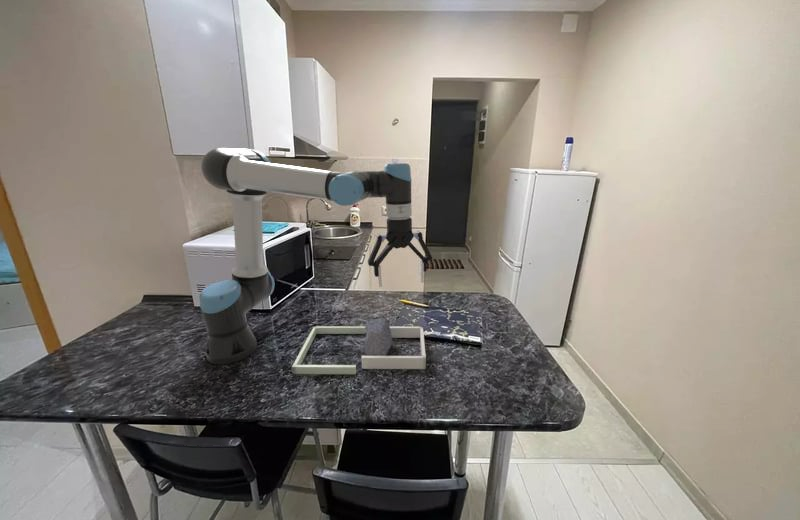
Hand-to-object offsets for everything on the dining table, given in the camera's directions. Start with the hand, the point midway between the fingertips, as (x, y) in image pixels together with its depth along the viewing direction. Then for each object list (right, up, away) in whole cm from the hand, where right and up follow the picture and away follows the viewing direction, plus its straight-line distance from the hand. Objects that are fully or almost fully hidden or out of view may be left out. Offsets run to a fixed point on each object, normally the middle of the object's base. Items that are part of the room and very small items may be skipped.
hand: (401, 283), depth 98 cm
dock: (-2, -23, +4) cm, 23 cm away
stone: (-8, -23, +4) cm, 25 cm away
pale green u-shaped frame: (-23, -23, +4) cm, 33 cm away
